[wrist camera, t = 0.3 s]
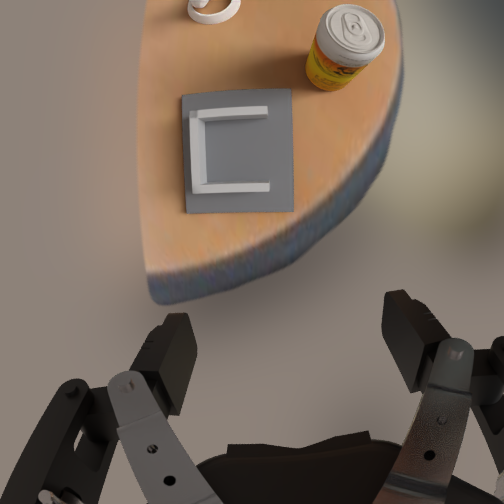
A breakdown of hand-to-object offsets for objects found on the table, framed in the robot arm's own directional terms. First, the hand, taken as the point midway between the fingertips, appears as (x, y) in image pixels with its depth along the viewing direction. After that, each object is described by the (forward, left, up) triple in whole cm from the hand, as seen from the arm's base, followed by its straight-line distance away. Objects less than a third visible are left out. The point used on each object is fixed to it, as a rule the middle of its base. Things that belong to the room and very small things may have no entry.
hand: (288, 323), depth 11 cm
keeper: (-7, -5, -28) cm, 30 cm away
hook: (-30, -8, -29) cm, 43 cm away
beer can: (-18, +7, -29) cm, 35 cm away
